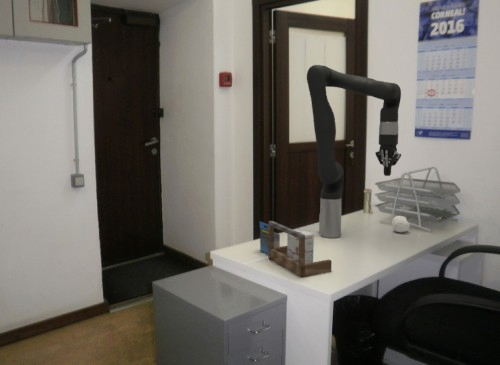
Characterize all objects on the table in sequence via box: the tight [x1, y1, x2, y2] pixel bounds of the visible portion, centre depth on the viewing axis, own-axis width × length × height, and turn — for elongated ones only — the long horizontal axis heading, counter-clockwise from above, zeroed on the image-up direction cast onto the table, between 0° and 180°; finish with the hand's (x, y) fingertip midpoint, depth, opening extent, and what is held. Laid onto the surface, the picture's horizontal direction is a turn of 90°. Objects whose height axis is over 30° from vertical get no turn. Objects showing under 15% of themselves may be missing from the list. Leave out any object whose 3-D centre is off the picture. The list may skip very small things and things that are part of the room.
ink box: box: [286, 230, 315, 264], centre depth 168 cm, size 9×5×12 cm, turn 111°
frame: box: [267, 220, 333, 278], centre depth 167 cm, size 23×12×15 cm, turn 26°
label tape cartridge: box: [259, 221, 281, 255], centre depth 183 cm, size 9×4×12 cm, turn 33°
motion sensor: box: [391, 215, 411, 234], centre depth 210 cm, size 8×8×8 cm
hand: (387, 175), depth 188 cm, fingers closed
